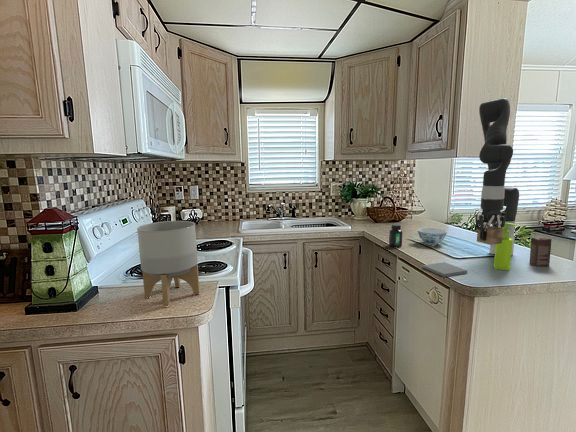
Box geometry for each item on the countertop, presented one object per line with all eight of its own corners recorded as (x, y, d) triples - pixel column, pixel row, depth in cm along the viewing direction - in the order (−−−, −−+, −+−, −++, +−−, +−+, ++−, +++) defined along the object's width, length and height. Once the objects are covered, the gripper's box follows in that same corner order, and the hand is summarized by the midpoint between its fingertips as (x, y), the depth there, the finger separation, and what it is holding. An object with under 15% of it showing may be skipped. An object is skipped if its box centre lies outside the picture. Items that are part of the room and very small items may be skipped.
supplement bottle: (400, 248, 171) (401, 226, 169) (387, 247, 174) (388, 225, 172) (403, 245, 177) (403, 224, 175) (390, 244, 180) (391, 223, 178)
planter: (203, 284, 125) (198, 219, 120) (195, 305, 106) (189, 229, 102) (153, 287, 122) (147, 221, 118) (136, 309, 104) (128, 232, 100)
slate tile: (444, 264, 143) (444, 262, 142) (467, 273, 131) (467, 270, 131) (422, 267, 139) (423, 265, 139) (444, 276, 128) (444, 274, 127)
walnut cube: (487, 239, 129) (488, 225, 128) (501, 243, 124) (503, 228, 123) (476, 241, 127) (477, 226, 126) (490, 244, 122) (491, 229, 121)
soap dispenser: (507, 271, 132) (512, 224, 129) (490, 267, 138) (494, 222, 135) (515, 269, 135) (520, 223, 131) (498, 265, 141) (502, 221, 137)
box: (541, 262, 143) (544, 236, 141) (549, 266, 138) (552, 239, 136) (528, 263, 143) (530, 237, 141) (535, 266, 138) (538, 239, 136)
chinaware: (451, 244, 177) (452, 230, 176) (436, 248, 169) (437, 234, 168) (426, 239, 190) (427, 226, 188) (411, 243, 181) (412, 230, 180)
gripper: (497, 195, 128) (493, 235, 131) (470, 197, 124) (467, 239, 127) (515, 196, 121) (511, 239, 124) (487, 199, 117) (484, 243, 120)
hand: (489, 239), depth 125 cm, fingers closed on walnut cube, 6 cm apart
